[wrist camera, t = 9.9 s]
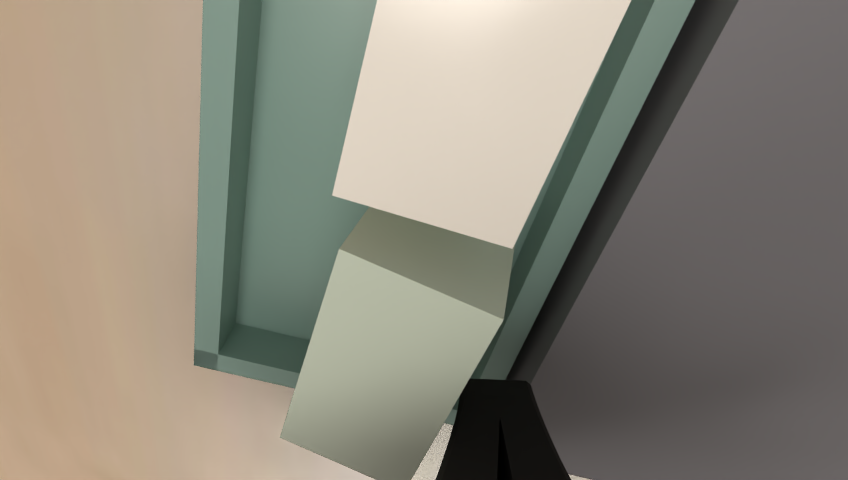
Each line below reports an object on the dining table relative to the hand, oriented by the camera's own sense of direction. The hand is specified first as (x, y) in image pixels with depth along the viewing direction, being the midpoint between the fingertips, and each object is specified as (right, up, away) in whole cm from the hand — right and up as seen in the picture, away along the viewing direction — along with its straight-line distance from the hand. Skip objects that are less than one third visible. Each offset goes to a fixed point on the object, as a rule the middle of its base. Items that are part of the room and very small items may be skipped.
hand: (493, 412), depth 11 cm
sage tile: (-1, +2, -1) cm, 2 cm away
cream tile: (+1, +6, -3) cm, 7 cm away
